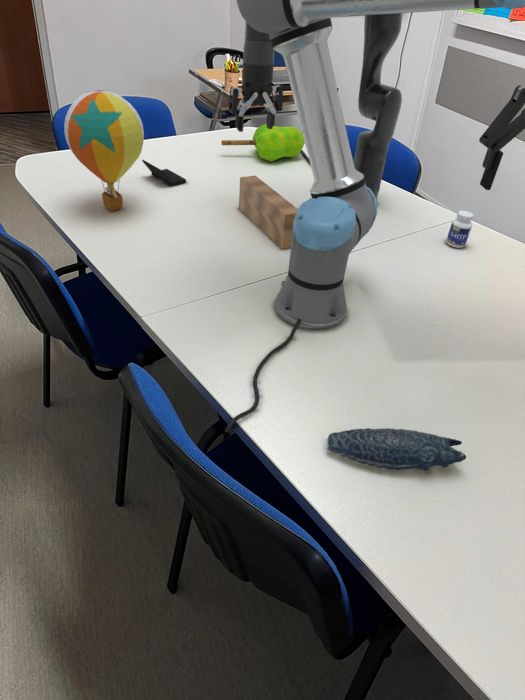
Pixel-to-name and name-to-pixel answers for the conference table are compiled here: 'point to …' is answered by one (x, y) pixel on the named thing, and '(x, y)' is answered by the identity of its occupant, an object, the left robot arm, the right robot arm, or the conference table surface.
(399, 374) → the conference table surface
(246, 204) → the bar
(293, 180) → the conference table surface
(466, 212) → the pill bottle
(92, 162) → the toy
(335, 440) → the fish model
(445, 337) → the conference table surface
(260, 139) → the decorative tree
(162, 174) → the black angled flat piece
